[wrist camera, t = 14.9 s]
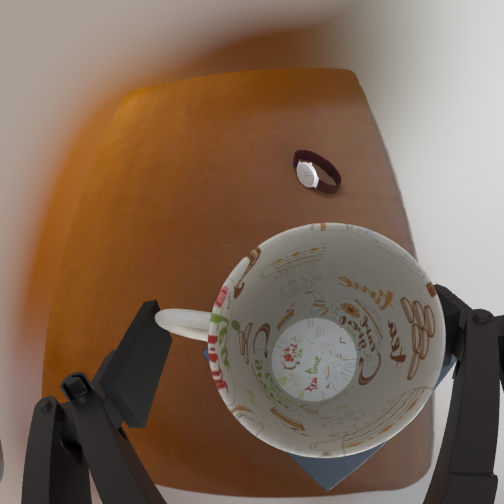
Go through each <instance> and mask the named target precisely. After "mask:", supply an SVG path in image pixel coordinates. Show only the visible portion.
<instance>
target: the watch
mask: <svg viewBox="0 0 504 504" xmlns="http://www.w3.org/2000/svg"><path fill="white" fill-rule="evenodd" d="M298 159H304V160H308V161H311V162H313V163H315V164H317V165H319V166H320V167H321V168H322V169H323V170H325V171H326V172H327V173H328V175H329V176H331V177H332V178H333V179H334V181H335V182H336V184H337V185H336V186H332V185H329V184H326V183H324V182H323V181H321V180H320V179H319V178H318V177H317V174H316V171H315V169H314V168H313V166H312V163H310V164H309V163H307V162H303V163H301V162H300V161H299V160H298ZM293 165H294V167H295V169H296V170H297V175H298V177H299V179H300V181H301V183H302V184H303V185H305V186H306V187H315V189H316V188H317V189H318V190H320V191H322V192H324V193H326V194H334V193H336V192H337V190H338V188H339V186H340V183H341V176H340V174H339V172H338V171H337V170H336V168H335V167H334V166H333V165H332V164H331V163H330V162H329V161H328V160H327V161H326V160H325V159H324V158H323V157H321V156H319V155H318V154H316V153H313V152H311V151H307V150H298V151H296V152H295V155H294V162H293Z"/></svg>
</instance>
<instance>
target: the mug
mask: <svg viewBox="0 0 504 504" xmlns="http://www.w3.org/2000/svg"><path fill="white" fill-rule="evenodd" d="M155 321H156V323H157V324H158V325H159V326H160V327H162V328H164V329H165V330H168V331H170V332H172V333H175V334H178V335H181V336H185V337H188V338H193V339H198V340H203V341H208V355H209V361H210V367H211V371H212V375H213V378H214V381H215V384H216V387H217V389H218V391H219V393H220V395H221V397H222V399H223V401H224V402H225V404H226V406H227V407H228V409H229V410H230V411H231V413H232V414H233V415H234V416H235V418H236V419H237V420H238V421H239V422H240V423H241V424H242V425H243V426H244V427H245V428H246V429H247V430H248V431H250V432H251V433H252V434H253V435H255V436H256V437H257V438H259V439H261V440H262V441H264V442H266V443H268V444H269V445H271V446H273V447H276V448H278V449H280V450H283V451H286V452H289V453H292V454H296V455H300V456H306V457H314V458H333V457H342V456H348V455H353V454H356V453H360V452H363V451H366V450H368V449H371V448H373V447H375V446H377V445H379V444H381V443H383V442H385V441H387V440H388V439H390V438H391V437H393V436H394V435H396V434H397V433H398V432H400V431H401V430H402V429H403V428H404V427H406V426H407V425H408V424H409V423H410V422H411V421H412V420H413V419H414V418H415V417H416V415H417V414H418V413H419V412H420V410H421V409H422V408H423V407H424V405H425V403H426V402H427V400H428V399H429V397H430V395H431V394H432V392H433V390H434V388H435V386H436V383H437V380H438V378H439V375H440V372H441V368H442V365H443V360H444V354H445V344H446V329H445V321H444V315H443V311H442V306H441V303H440V300H439V297H438V295H437V292H436V290H435V288H434V286H433V284H432V282H431V280H430V279H429V277H428V275H426V273H425V271H424V270H423V268H422V267H421V266H420V265H419V263H418V262H417V261H416V260H415V259H414V258H413V257H412V256H411V255H410V254H409V253H408V252H407V251H406V250H404V249H403V248H402V247H401V246H399V245H398V244H396V243H395V242H393V241H392V240H390V239H389V238H387V237H385V236H383V235H381V234H379V233H377V232H374V231H372V230H369V229H366V228H363V227H359V226H355V225H350V224H342V223H317V224H309V225H305V226H300V227H296V228H293V229H290V230H287V231H285V232H282V233H280V234H277V235H276V236H274V237H272V238H270V239H268V240H266V241H265V242H263V243H262V244H260V245H259V246H257V247H256V248H255V249H253V250H252V251H251V252H250V253H249V254H248V255H247V256H245V257H244V258H243V259H242V260H241V261H240V263H239V264H238V265H237V266H236V267H235V268H234V270H233V271H232V272H231V274H230V275H229V276H228V278H227V280H226V281H225V283H224V284H223V286H222V288H221V290H220V292H219V294H218V296H217V299H216V302H215V304H214V307H213V311H212V313H210V312H203V311H196V310H187V309H164V310H162V311H160V312H158V313H157V314H156V315H155Z"/></svg>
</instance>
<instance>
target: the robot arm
mask: <svg viewBox="0 0 504 504" xmlns="http://www.w3.org/2000/svg"><path fill="white" fill-rule="evenodd" d="M433 286H434V288H435V290H436V292H437V295H438V297H439V300H440V303H441V306H442V311H443V315H444V321H445V329H446V344H445V354H444V360H443V365H442V368H444V367H446V366H448V365H450V362H451V358H452V354H453V355H454V356H455V357H456V358H457V362H456V366H455V370H454V373H453V377H452V379H454V382H453V389H452V396H451V402H450V408H449V413H448V418H447V423H446V428H445V432H444V437H443V441H442V445H441V449H440V453H439V456H438V460H437V464H436V467H435V470H434V473H433V476H432V480H431V483H430V485H429V488H428V492H427V494H426V497H425V500H424V502H423V504H494V500H495V494H496V491H497V484H498V477H497V475H494V473H493V468H494V461H495V454H496V446H497V437H498V425H499V403H500V402H499V401H500V381H501V384H502V388H503V391H504V315H502V316H496V317H494V316H493V314H492V313H490V312H489V311H486V310H483V309H474V310H473V309H471V308H470V307H469V306H468V305H467V304H465V303H464V302H463V301H462V300H461V299H459V298H457V296H456V295H455V294H452V292H451V291H450V290H448V289H447V288H446V287H443V286H441V285H438V284H436V285H433ZM158 312H160V308H159V306H158V303H157V300H153V301H148V302H144V303H143V305H142V306H141V308H140V310H139V311H138V313H137V315H136V317H135V318H134V320H133V322H132V323H131V325H130V327H129V328H128V330H127V332H126V334H125V335H124V337H123V339H122V341H121V342H120V344H119V346H118V348H117V350H112V351H111V352H110V353H109V354H108V355H107V356H106V357H105V359H104V360H103V362H102V365H101V366H100V367H99V371H97V373H96V375H95V376H94V378H93V380H92V382H90V381H89V379H88V377H87V376H86V374H85V373H82V372H76V373H73V374H71V375H69V376H67V377H66V378H65V379H64V380H63V381H62V383H61V386H60V389H61V390H62V392H63V393H64V394H65V396H66V397H67V399H68V400H69V401H70V402H66V403H62V404H59V402H58V401H57V400H56V399H55V397H52V396H48V397H45V398H42V399H41V400H40V401H39V402H38V403H37V404H36V406H35V409H34V412H33V417H32V422H31V428H30V432H29V438H28V444H27V450H26V457H25V465H24V474H23V486H22V500H21V504H92V500H91V491H90V480H89V469H90V472H91V475H92V478H93V481H94V483H95V486H96V488H97V491H98V493H99V496H100V498H101V501H102V502H103V504H167V503H166V502H165V500H164V499H163V497H162V496H161V494H160V492H159V491H158V489H157V488H156V486H155V485H154V483H153V481H152V480H151V478H150V476H149V475H148V473H147V471H146V470H145V468H144V466H143V465H142V463H141V461H140V459H139V458H138V456H137V454H136V452H135V450H134V448H133V447H132V445H131V443H130V441H129V439H128V437H127V435H126V433H125V431H124V430H123V428H122V427H121V423H122V421H123V420H124V421H125V422H126V424H127V425H128V426H129V428H145V425H146V421H147V418H148V415H149V411H150V408H151V405H152V402H153V398H154V395H155V392H156V389H157V386H158V383H159V379H160V376H161V373H162V370H163V367H164V364H165V361H166V358H167V355H168V352H169V349H170V346H171V343H172V339H171V336H170V334H169V331H168V330H165V329H164V328H162V327H160V326H159V325H158V324H157V323H156V321H155V315H156V314H157V313H158ZM499 380H500V381H499Z"/></svg>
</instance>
